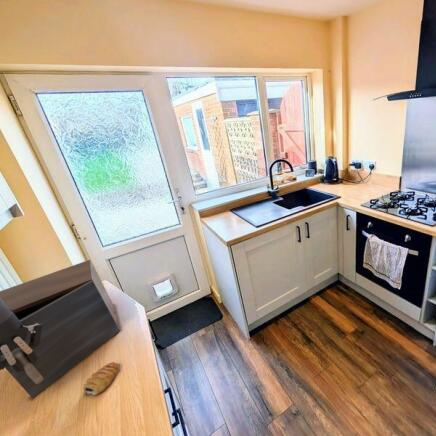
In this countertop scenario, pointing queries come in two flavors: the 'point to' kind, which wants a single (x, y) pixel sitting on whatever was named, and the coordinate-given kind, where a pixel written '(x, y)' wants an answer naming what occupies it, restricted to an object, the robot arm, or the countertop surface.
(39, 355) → the door
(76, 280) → the cupboard
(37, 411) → the countertop surface
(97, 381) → the pastry
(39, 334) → the robot arm
